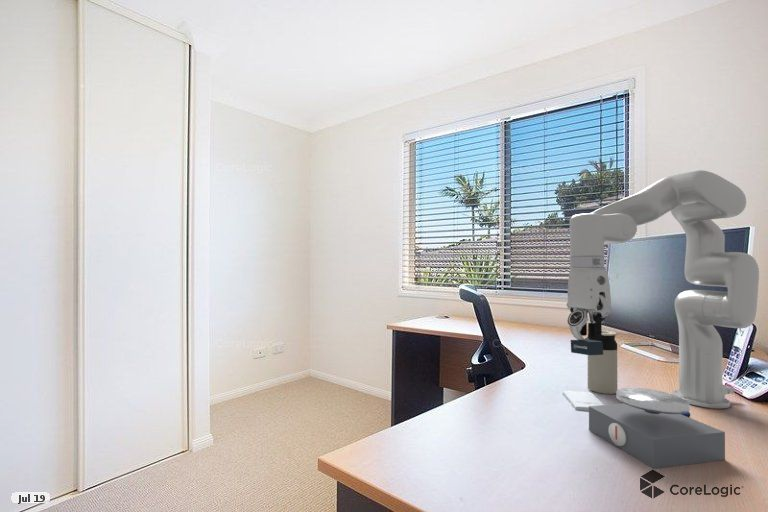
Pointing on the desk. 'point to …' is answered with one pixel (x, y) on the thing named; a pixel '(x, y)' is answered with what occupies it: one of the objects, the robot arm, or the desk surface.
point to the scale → (657, 435)
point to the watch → (581, 345)
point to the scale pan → (653, 401)
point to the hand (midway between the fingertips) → (587, 336)
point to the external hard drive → (581, 399)
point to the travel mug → (604, 366)
